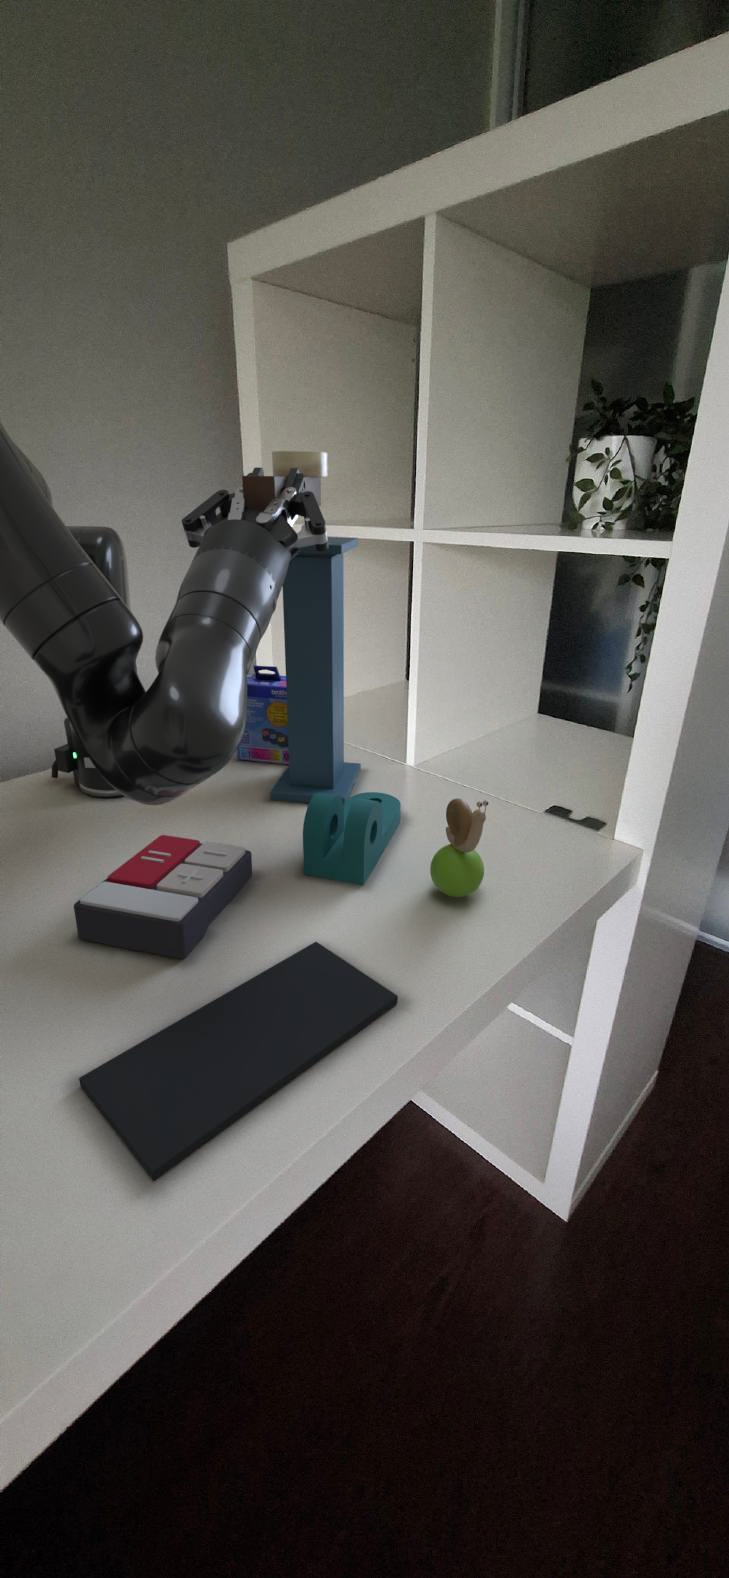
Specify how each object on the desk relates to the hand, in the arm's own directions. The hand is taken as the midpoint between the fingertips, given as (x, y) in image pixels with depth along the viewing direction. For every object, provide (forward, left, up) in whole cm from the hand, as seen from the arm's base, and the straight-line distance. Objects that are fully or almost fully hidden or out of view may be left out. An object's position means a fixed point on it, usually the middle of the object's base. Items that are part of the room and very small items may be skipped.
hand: (278, 477), depth 67 cm
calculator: (-3, -19, -39) cm, 43 cm away
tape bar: (-1, +2, -3) cm, 4 cm away
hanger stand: (-4, +13, -39) cm, 41 cm away
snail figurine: (+22, -5, -39) cm, 45 cm away
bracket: (+8, +1, -39) cm, 40 cm away
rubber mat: (+14, -31, -39) cm, 52 cm away
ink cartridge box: (-15, +19, -39) cm, 46 cm away
